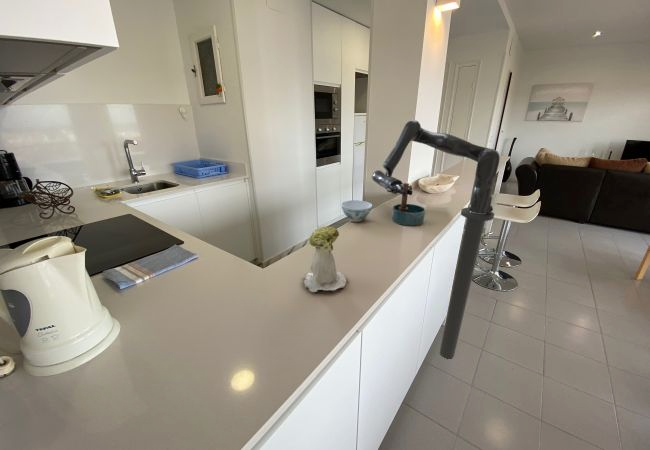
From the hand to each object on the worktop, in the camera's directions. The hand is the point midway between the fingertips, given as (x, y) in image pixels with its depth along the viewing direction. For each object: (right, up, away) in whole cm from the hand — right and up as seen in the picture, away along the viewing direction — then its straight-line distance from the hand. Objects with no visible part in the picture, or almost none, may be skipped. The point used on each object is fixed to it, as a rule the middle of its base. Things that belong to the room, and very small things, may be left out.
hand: (408, 193), depth 130 cm
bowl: (+2, -13, +7) cm, 15 cm away
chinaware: (-24, -12, +8) cm, 28 cm away
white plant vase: (-39, -33, -45) cm, 68 cm away
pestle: (-1, -10, +7) cm, 12 cm away
